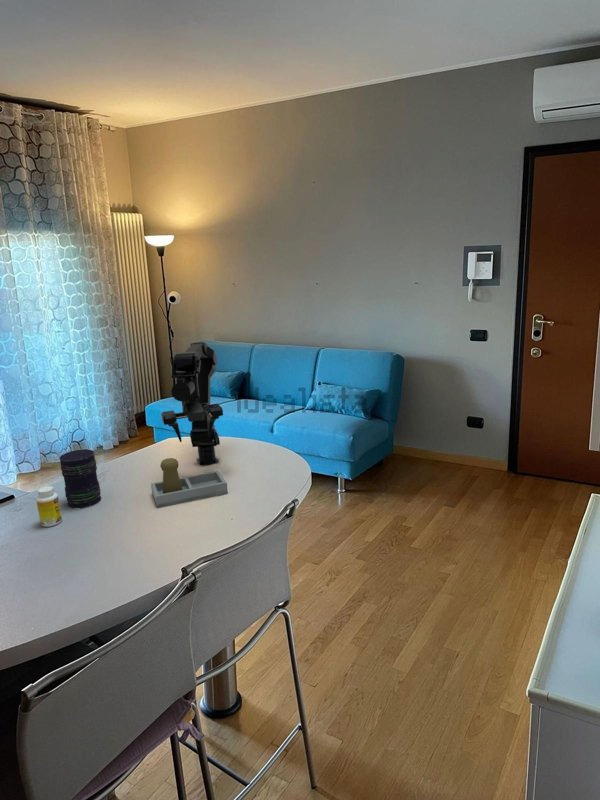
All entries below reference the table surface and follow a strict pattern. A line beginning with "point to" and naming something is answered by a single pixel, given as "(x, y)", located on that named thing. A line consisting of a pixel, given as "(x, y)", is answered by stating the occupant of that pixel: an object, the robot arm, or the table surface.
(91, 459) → the storage jar
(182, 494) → the caddy
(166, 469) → the olive rounded piece
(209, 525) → the table surface
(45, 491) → the supplement bottle
